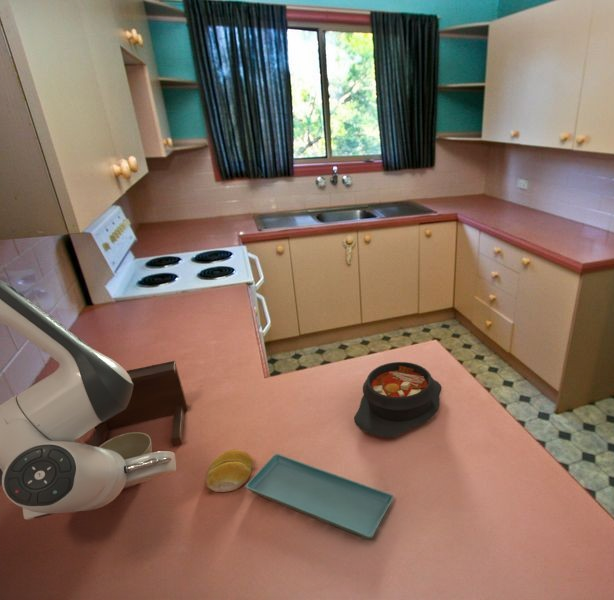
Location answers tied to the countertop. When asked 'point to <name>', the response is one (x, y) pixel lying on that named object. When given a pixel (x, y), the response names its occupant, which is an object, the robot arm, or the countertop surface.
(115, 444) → the beige bowl
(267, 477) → the rectangular tray
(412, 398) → the casserole
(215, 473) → the bread roll
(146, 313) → the countertop surface
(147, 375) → the cup rack
